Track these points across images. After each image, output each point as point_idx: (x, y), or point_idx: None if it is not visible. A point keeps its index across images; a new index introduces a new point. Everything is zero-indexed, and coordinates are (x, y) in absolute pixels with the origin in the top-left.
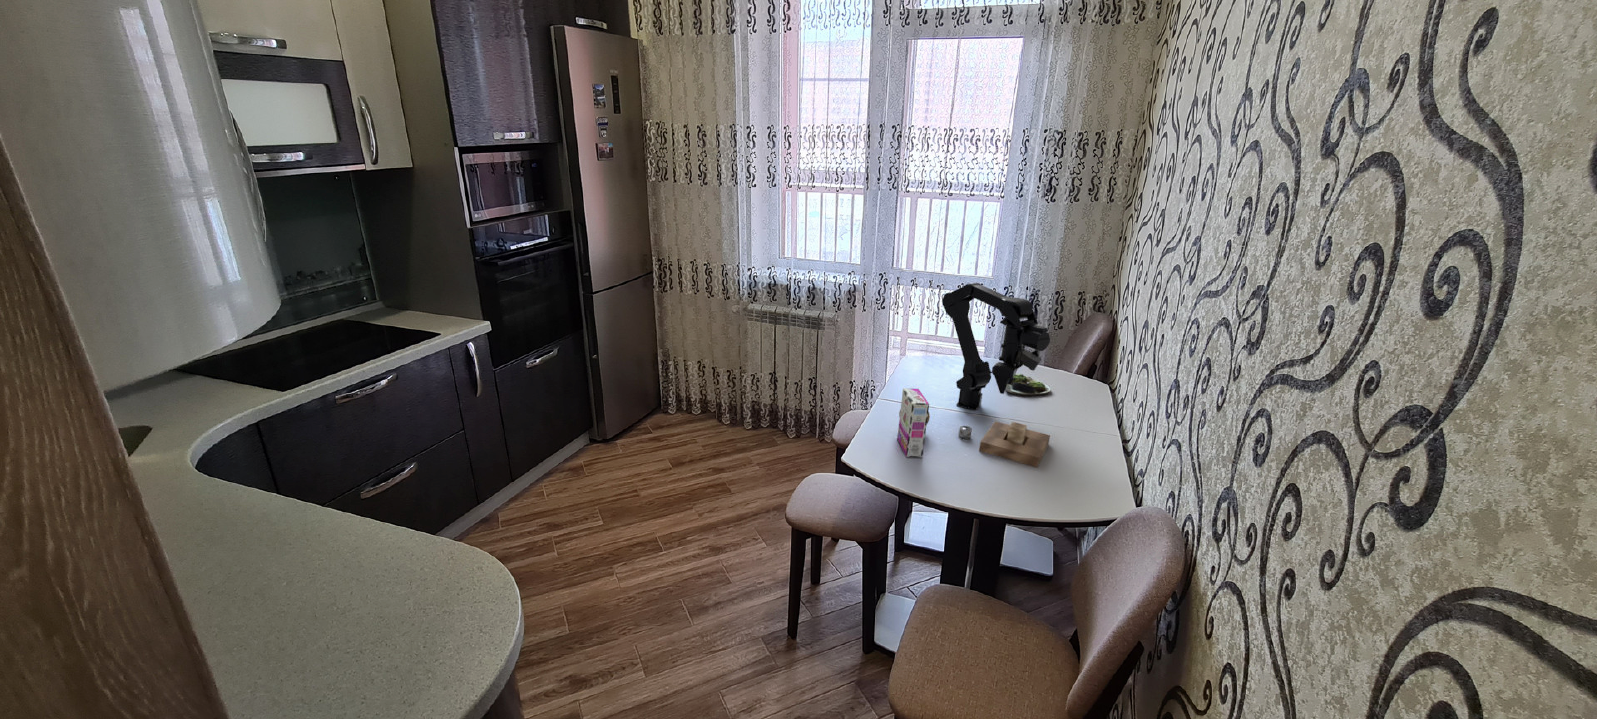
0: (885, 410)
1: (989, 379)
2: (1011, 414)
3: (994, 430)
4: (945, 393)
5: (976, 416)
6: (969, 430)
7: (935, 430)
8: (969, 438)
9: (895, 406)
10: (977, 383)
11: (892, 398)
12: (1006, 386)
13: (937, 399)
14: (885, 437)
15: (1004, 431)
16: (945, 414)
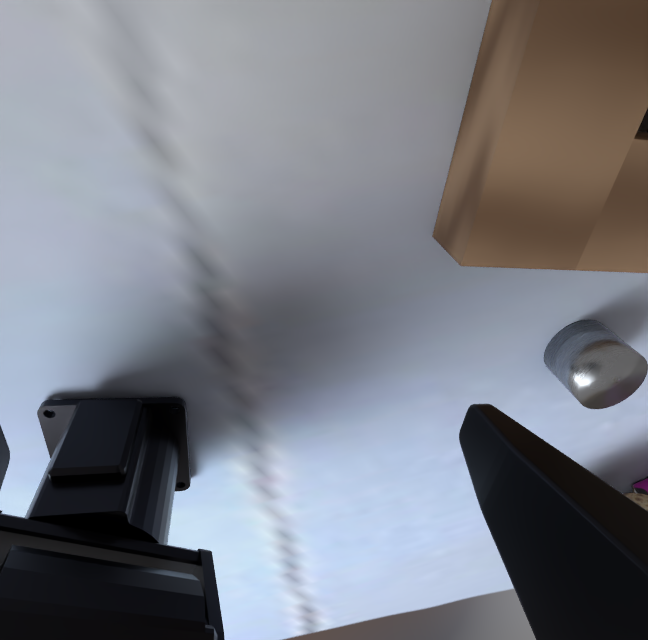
0: (409, 607)
1: (4, 605)
2: (46, 165)
3: (623, 236)
4: None
5: (270, 367)
6: (636, 360)
7: None
8: (604, 326)
9: (357, 605)
10: (203, 615)
11: (286, 633)
12: (577, 490)
13: None
14: None
15: (632, 165)
16: (336, 480)
